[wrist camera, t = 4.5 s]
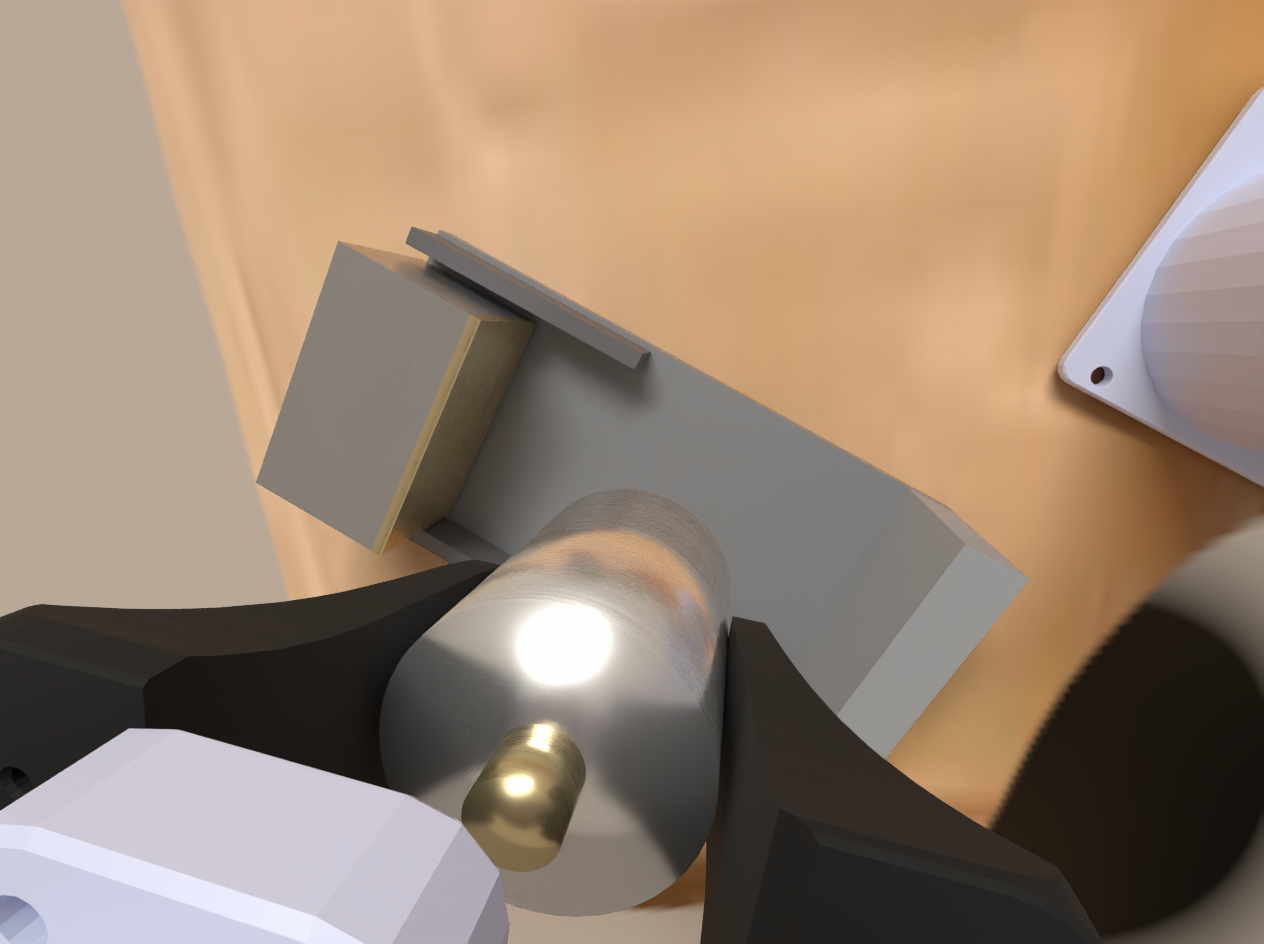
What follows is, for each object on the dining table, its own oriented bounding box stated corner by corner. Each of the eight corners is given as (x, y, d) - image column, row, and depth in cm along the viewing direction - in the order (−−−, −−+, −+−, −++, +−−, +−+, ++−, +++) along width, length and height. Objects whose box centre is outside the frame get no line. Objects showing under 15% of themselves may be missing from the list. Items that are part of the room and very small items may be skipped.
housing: (740, 499, 13) (733, 673, 6) (721, 694, 14) (696, 1032, 7) (533, 479, 13) (321, 612, 7) (529, 665, 14) (338, 944, 8)
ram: (536, 322, 19) (481, 320, 15) (449, 513, 20) (380, 555, 17) (422, 259, 19) (338, 240, 15) (347, 454, 21) (256, 482, 17)
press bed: (947, 507, 18) (1029, 579, 13) (788, 725, 21) (802, 862, 16) (448, 232, 19) (332, 194, 14) (354, 473, 22) (225, 520, 16)
